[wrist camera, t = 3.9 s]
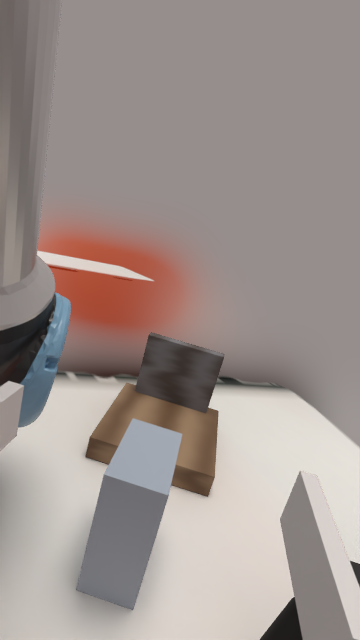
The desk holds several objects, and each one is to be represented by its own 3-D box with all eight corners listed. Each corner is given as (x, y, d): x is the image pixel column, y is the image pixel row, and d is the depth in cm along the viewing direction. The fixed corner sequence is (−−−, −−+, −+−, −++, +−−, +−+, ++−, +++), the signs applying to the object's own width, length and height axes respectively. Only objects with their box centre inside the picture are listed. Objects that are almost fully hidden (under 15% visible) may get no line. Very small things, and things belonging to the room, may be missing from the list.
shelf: (85, 456, 44) (105, 364, 40) (122, 398, 59) (139, 327, 55) (207, 496, 43) (239, 405, 39) (213, 426, 58) (236, 356, 54)
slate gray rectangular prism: (76, 590, 29) (103, 474, 26) (108, 514, 37) (132, 418, 33) (133, 610, 29) (168, 495, 25) (153, 529, 36) (182, 433, 33)
